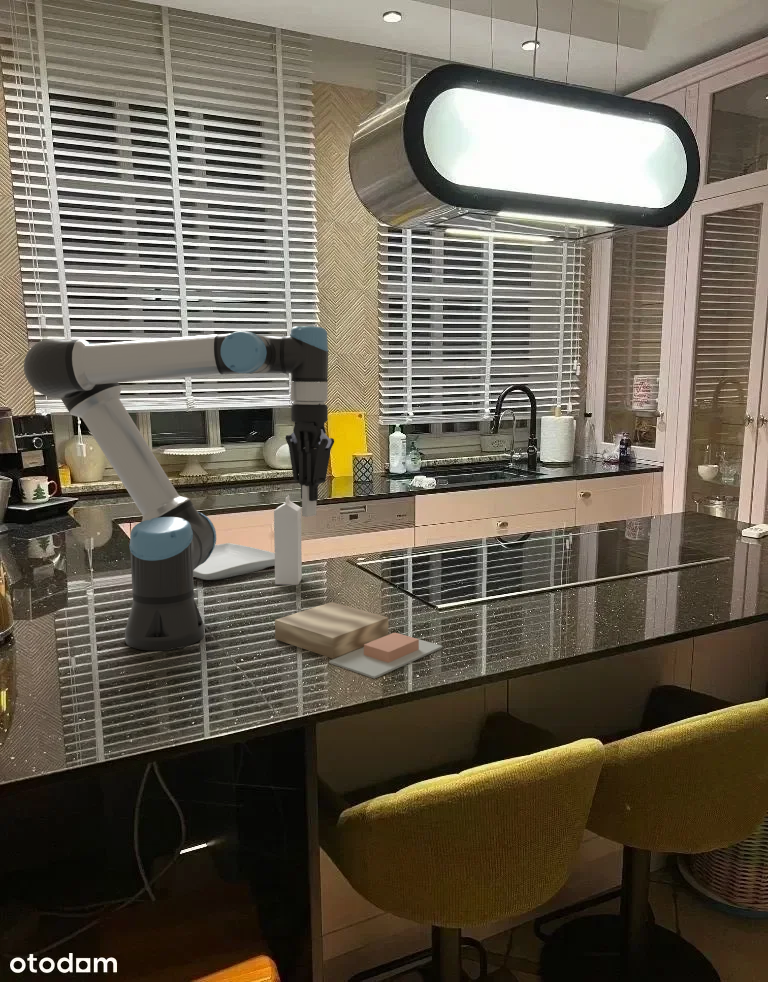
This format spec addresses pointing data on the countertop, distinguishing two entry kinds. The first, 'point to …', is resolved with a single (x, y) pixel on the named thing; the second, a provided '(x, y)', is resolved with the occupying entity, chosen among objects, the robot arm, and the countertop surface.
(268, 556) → the square plate
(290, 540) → the milk
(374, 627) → the board
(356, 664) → the mat
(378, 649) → the pink block
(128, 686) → the countertop surface
